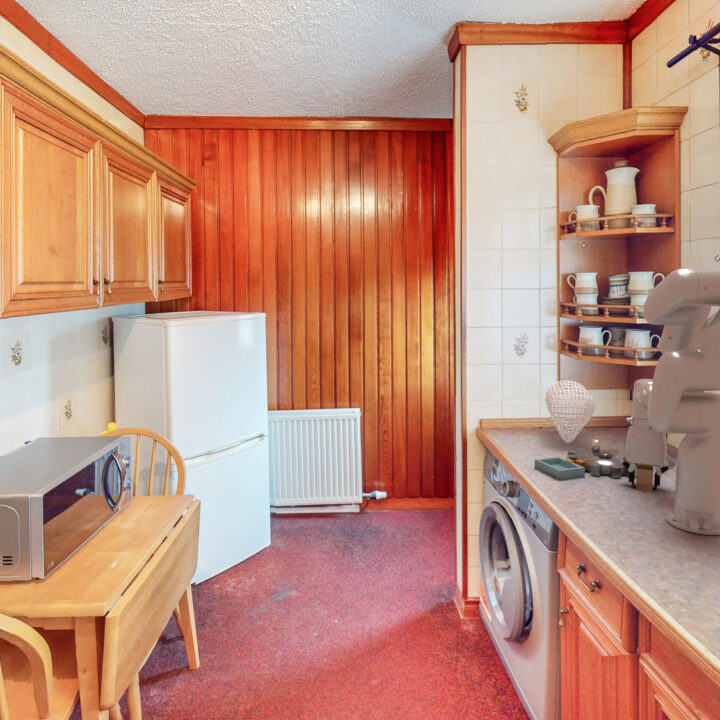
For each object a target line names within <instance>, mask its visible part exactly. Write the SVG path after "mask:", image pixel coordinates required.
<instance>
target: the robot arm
mask: <svg viewBox="0 0 720 720" xmlns="http://www.w3.org/2000/svg"><path fill="white" fill-rule="evenodd" d="M712 307H719V308H718V310H716V312H714V313H713V314H712V315H711V316H710V313H711V310H712ZM643 318H644V320H645V321H646V322H647V323H648V324H650V325H655V326H664V327H663V331H662V333H661V336H660V341H659V343H658V344H659V345H658V348H659V351H660V353H662V355H661V356H660V357H659V359H658V361H656V365H655V370H654V374H653V379H652V378H641V379H636V380H635V381H634V383H633V396H632V397H633V400H632V416H631V417H626V423H629V424H630V426H629V427H628V430H627V434H626V435H627V436H626V444H625V448H624V449H623V450H622V451H620V452H621V453H620V454H619V455H618V456H617V457H616V459H617V460H618V461H619V462H620V463H622V464H623V465H624V467H625V468H626V469H627V470H628V471H629V476H628V483H630V484H631V487H634V486H635V478H636V477H635V471H634V467H635V465H636V464H642V465H651V466H653V467H655V472H654V475H653V488H654V490H658V487H660V486H661V478H662V477H661V476H662V475H663V474H664V473H666V472H667V471H669V470H670V469H672V468H674V467H676V472H675V487H674V488H675V490H674V491H675V492H674V509H673V510H670V511H668V512H667V513H666V518H665V519H666V521H667V522H668V524H670V525H671V526H673V527H675V528H677V529H679V530H681V531H685V532H689V533H693V534H698V535H702V536H703V535H706V536H720V393H716V392H715V391H717V392H718V391H720V267H717V266H715V267H685V268H683V267H682V268H677V269H675V270H673V271H671V272H670V273H669V274H667V275H666V276H665V277H664V278H663V279H662V280H661V281H659V283H658V284H656V286H655V287H654V288H653V289H651V291H650V292H649V294H648V296H646V298H645V301H644V305H643ZM666 434H668V435H671V434H673V435H677V434H679V435H680V434H681V435H683V434H685V435H684V437H683V439H682V440H681V441H680V444H678V445H679V446H678V448H677V453H676V454H677V456H676V462H675V461H674V459H673V458H672V457H671V456H670V454H669V453H668V452H667V451H668V438H667V439H666ZM624 456H625V458H626V460H624V458H623V457H624ZM627 461H628V462H629V463H630V464H629V463H628V462H627ZM666 463H667V464H666Z"/></svg>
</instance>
